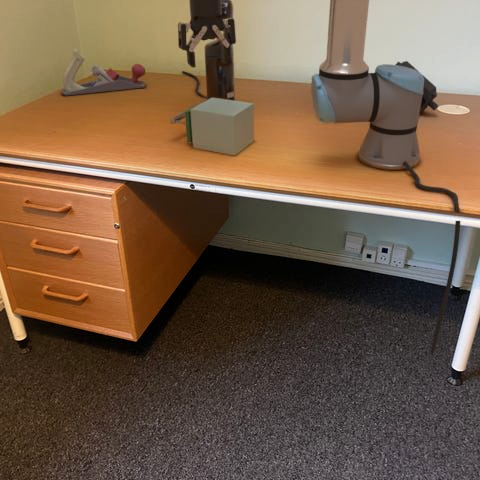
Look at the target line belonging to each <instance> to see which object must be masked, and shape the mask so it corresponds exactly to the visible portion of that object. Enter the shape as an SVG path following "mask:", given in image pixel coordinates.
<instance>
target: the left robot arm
mask: <svg viewBox="0 0 480 480" xmlns="http://www.w3.org/2000/svg"><path fill="white" fill-rule="evenodd" d="M234 13H235V12H234V4H233V1H232V0H189V14H190V21H189V22H181V21H180V22H178V24H177V32H178V33H177V41H178V42H177V43H178V44H177V45H178V48H179V49H180V50H182V51H186V60H187V62H186V63H187V65H189V66H190V67H191V68H192V69H193V68H196V53H195V49H196V47H197V45H199V44H200V42H201V41H207V40H211V41H209V42H207V43H206V44H205V45H204V48H203V49H204V65H205V84H206V86H205V87H206V95H205V96H204V95H203V94H202V93H201V92H200V91H198V90H199V85H200V80H199V78H198V77H197V76H196V75H194V74H193V73H190V72H187V71H184V70H182V71H181V73H182V74H184V75H187V76H190V77H193V78H194V79H195V80H196V86H195V89H194V90H195V93H196V94H197V95H198V96H199V97H201V98H204V99H206V101H207V100H208V99H210V98H219V99H226V100H233V101H236V99H235V98H236V97H235V94H236V93H235V90H236V89H235V57H234V56H235V55H234V52H235V51H234V45H235V44H236V42H237V36H236V24H235V22H236V21H235V19H234V17H235V16H234V15H235V14H234ZM189 30H191V31H192V33H191V35H190V37H189V40H188V42H187V34H188V33H189Z"/></svg>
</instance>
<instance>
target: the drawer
mask: <svg viewBox="0 0 480 480" xmlns="http://www.w3.org/2000/svg"><path fill="white" fill-rule="evenodd" d="M205 101H206V100H203V101H202V102H200V103H197V104H195V105H194V106H192V107H191V108H188V109H187V110H185V111H183V112H181V113H179V114H177V115H175V116H174V117H173V116H172V118H170V119H169V123H170V124H171V125H175V124H180V125H185V130H186V131H185V133H186V142H187V143H190V144H191V143H193V140H192V126H191V111H190V109H192V108H194V107H196V106H197V105H199V104H201V103H203V102H205ZM184 119H185V121H183V120H184Z"/></svg>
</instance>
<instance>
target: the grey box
mask: <svg viewBox="0 0 480 480" xmlns="http://www.w3.org/2000/svg"><path fill="white" fill-rule="evenodd" d="M204 101H205V102H203V101H202V102H203V103H201V102H200V103H201V104H199V103H198V104H199V105H198V104H196V105H197V106H196V105H195V106H196V107H194V106H193V107H194V108H192V107H191V108H192V109H190V108H189V109H190V111H191V126H192V140H193V142H192V148H193V149H197V150H203V151H209V152H214V153H219V154H224V155H229V156H237V155H238V154H239V153H240V152H241V151H243V150H244V149H246V148H247V147H248V146H250V145H251V144H252V143H253V142H255V125H254V124H255V114H254V113H255V107H254V106H255V105H254V103H253V102H247V101H239V100H235V101H233V100H226V99H219V98H210V99H208V100H207V99H206V100H204Z"/></svg>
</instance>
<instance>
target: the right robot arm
mask: <svg viewBox="0 0 480 480" xmlns="http://www.w3.org/2000/svg"><path fill="white" fill-rule="evenodd" d="M369 5H370V0H329V10H328V11H329V13H328V25H327V26H328V27H327V29H328V30H327V43H326V57H325V60H324V61H323V62H321V63H320V64H319V68H318V73H315V74H313V75H312V76H311V83H310V85H311V87H310V88H311V99H312V106H313V111H314V114H315V118H316V119H317V120H318V122H320V123H323V124H334V125H338V124H350V123H351V124H353V123H354V124H355V123H369V126H368V130H367V132H366V135H364V136H365V137H364V138H363V141H362V143H361V145H360V147H359V151H358V159H359V160H360V162H362V163H363V164H364V165H367V166H369V167H372V168H374V169H378V170H385V171H403V170H407V171H408V172H409V173H410V174H411V176H412V177H413V178H414V185H415V186H416V187H417V188H419V189H421V190H425V191H430V192H441V193H444V194H447V195H448V196H450V197H452V200H453V201H452V202H453V208H454V213H457V214H458V213H459V214H460V212H461V210H460V206H459V205H460V204H459V197H458V196H459V195H457V193H456V192H454V191H453V190H450V189H448V188H445V187H439V186H429V185H424V184H422V183H420V177H419V175H418V173H417V172H416V171H415V170H414V169H413V168H414V167H416V166H418V164H419V163H420V158H421V156H420V155H421V153H420V151H421V150H420V146H419V140H418V135H417V130H418V124H419V119H420V113H421V112H420V107H421V101H422V95H423V93H424V92H423V86H424V77H425V76H424V74H422V73H421V72H420V71H419V70H418V71H416V70H414V69H411V68H407V67H403V66H398V65H396V64H386V63H385V64H379V65H377V66H376V68H375V69H374V72H369V70H370V67H369V65H368V64H367V62H366V61H365V60H364V57H365V46H366V45H365V44H366V35H367V28H368V27H367V26H368V15H369V7H370V6H369ZM423 76H424V77H423ZM419 112H420V113H419ZM454 223H455V226H454V237H453V238H454V239H453V246H452V253H451V261H450V266H449V271H448V277H447V281H446V285H445V290H444V295H443V298H442V302H441V306H440V310H439V313H438V318H437V322H436V325H435V329H434V334H433V339H432V343H431V348H430V354H432V355H434V354H435V352H436V349H437V344H438V340H439V339H438V338H439V335H440V331H441V327H442V322H443V319H444V315H445V311H446V307H447V304H448V299H449V295H450V292H451V287H452V283H453V279H454V273H455V268H456V264H457V257H458V250H459V242H460V233H461V220H455V221H454Z"/></svg>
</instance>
